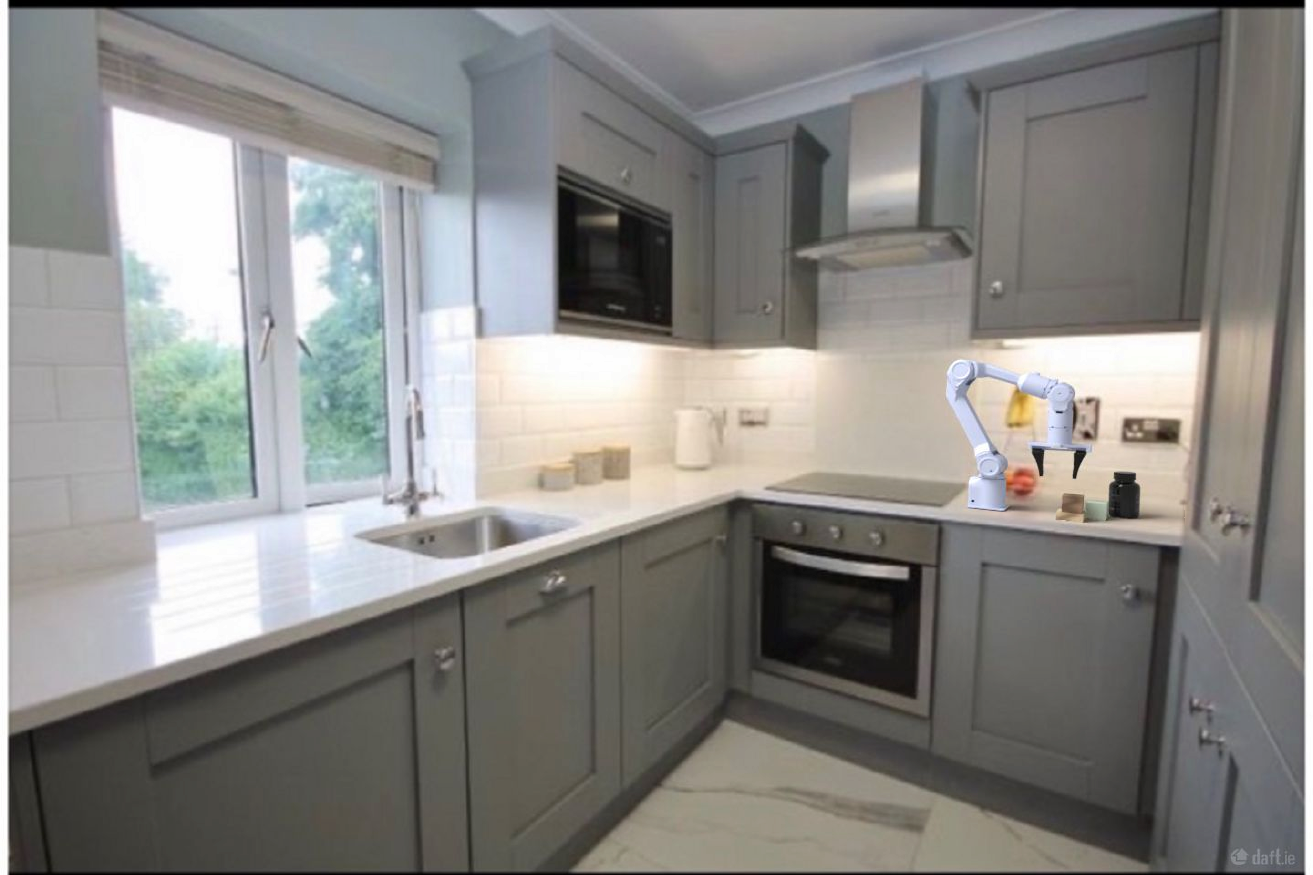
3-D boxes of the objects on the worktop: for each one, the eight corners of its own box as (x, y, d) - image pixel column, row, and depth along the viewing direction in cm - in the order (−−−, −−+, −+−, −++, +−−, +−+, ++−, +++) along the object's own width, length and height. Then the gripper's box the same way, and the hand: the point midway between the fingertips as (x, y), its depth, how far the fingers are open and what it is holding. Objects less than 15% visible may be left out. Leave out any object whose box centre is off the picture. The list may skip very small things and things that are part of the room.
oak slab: (1055, 521, 166) (1056, 512, 166) (1058, 517, 171) (1058, 508, 170) (1082, 524, 162) (1083, 514, 162) (1085, 520, 167) (1085, 511, 167)
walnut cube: (1061, 512, 165) (1062, 495, 165) (1063, 509, 169) (1064, 493, 169) (1082, 514, 163) (1083, 497, 162) (1083, 511, 166) (1084, 494, 166)
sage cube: (1085, 518, 167) (1086, 502, 167) (1087, 516, 171) (1087, 499, 170) (1105, 521, 164) (1106, 504, 164) (1107, 518, 168) (1108, 501, 167)
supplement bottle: (1125, 513, 173) (1127, 470, 172) (1145, 518, 166) (1148, 474, 165) (1101, 514, 173) (1103, 470, 172) (1120, 519, 166) (1123, 474, 165)
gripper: (1026, 427, 171) (1024, 476, 173) (1090, 429, 162) (1088, 481, 163) (1031, 425, 177) (1029, 473, 178) (1093, 427, 168) (1090, 478, 169)
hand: (1057, 477), depth 171 cm, fingers open, 7 cm apart
